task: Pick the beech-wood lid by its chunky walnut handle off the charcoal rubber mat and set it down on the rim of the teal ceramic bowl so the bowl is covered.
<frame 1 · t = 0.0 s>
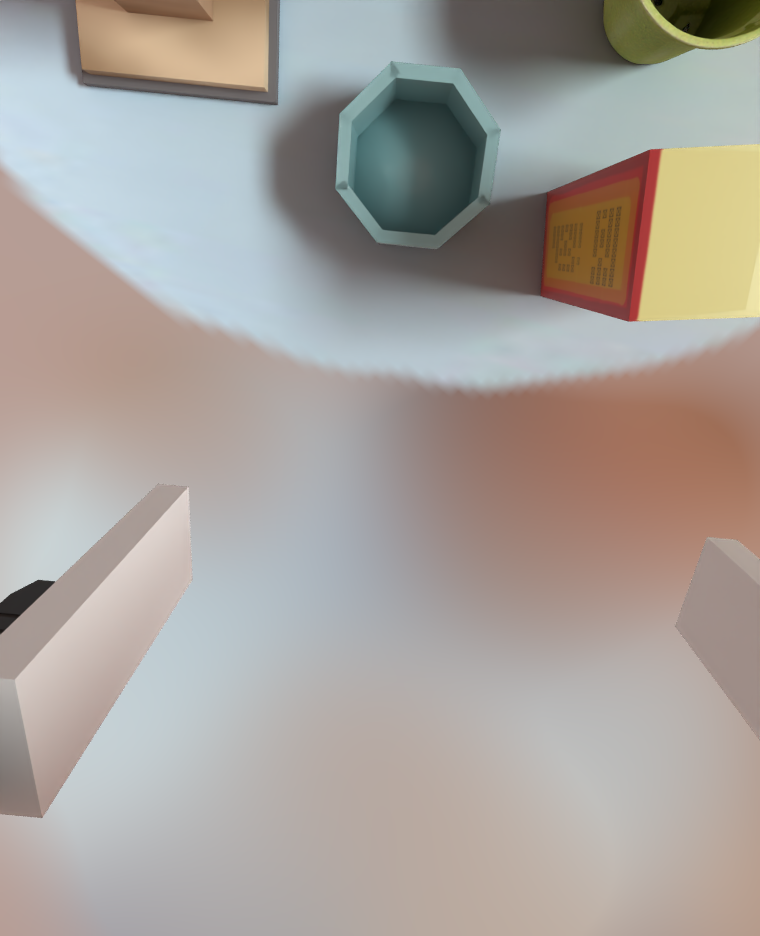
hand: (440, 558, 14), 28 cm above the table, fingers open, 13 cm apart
bowl: (413, 172, 35), on the table
plant pot: (651, 4, 32), on the table
baking soda box: (613, 242, 37), on the table
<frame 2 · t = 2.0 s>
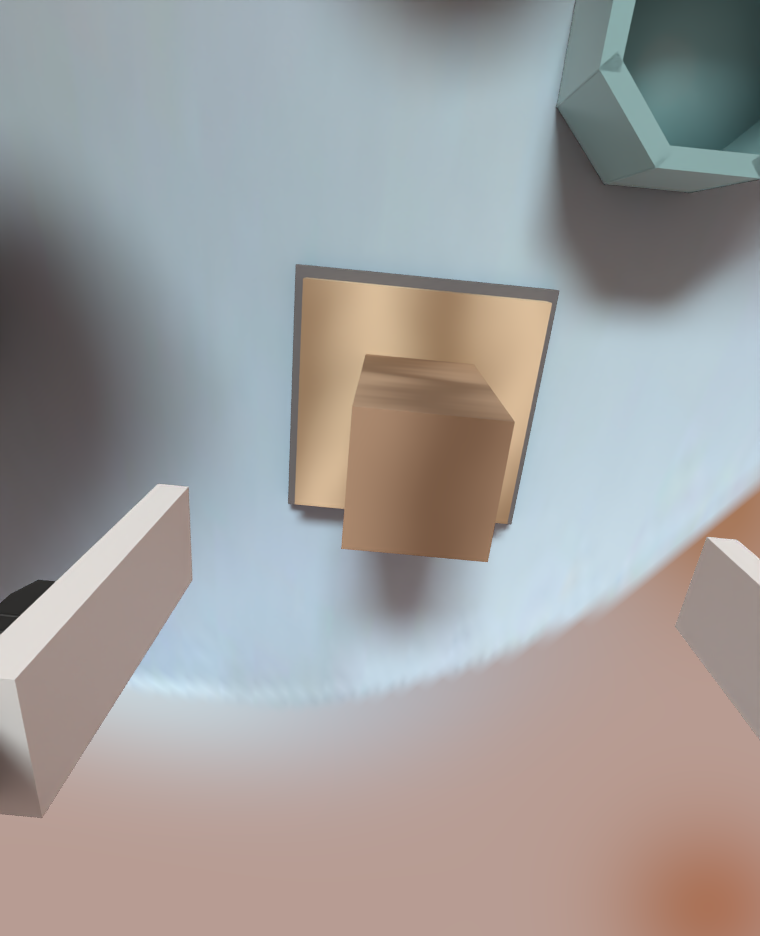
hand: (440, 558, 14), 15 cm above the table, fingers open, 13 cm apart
bowl: (677, 63, 22), on the table
mat: (412, 402, 27), on the table
lid: (412, 405, 27), point 1 cm above the table, touching mat
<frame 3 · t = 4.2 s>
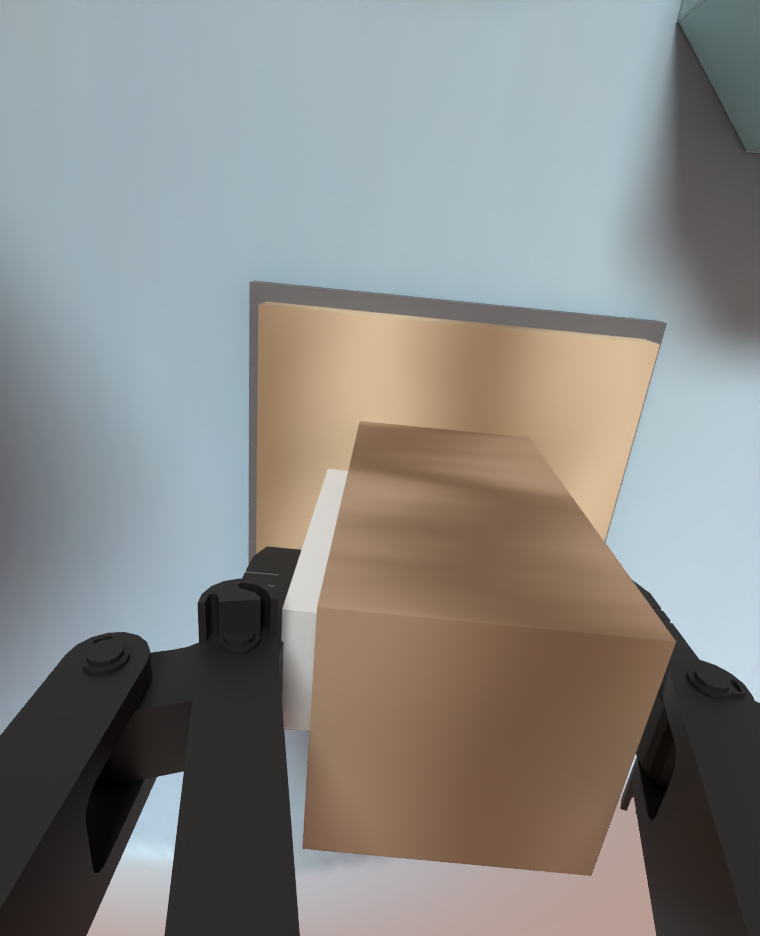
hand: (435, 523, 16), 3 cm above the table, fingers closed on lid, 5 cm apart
mat: (430, 485, 18), on the table
lid: (431, 492, 18), point 1 cm above the table, touching gripper, mat
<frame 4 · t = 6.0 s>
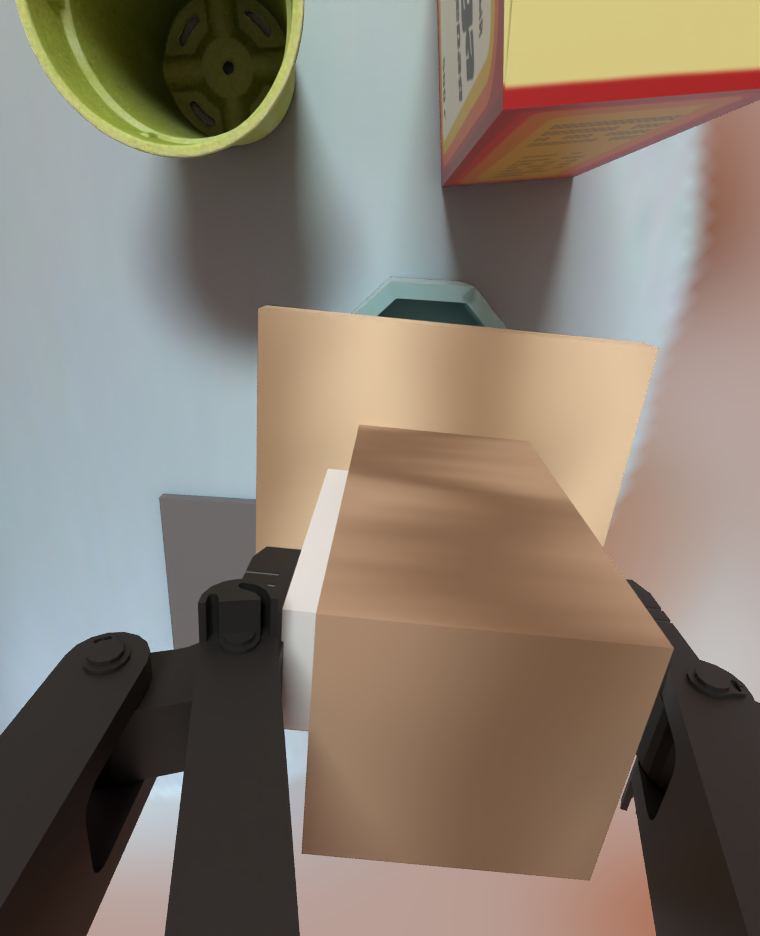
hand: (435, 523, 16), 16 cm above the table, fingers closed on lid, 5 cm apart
bowl: (418, 364, 30), on the table
plant pot: (231, 74, 26), on the table
mat: (262, 582, 36), on the table
lid: (431, 495, 18), point 14 cm above the table, touching gripper
baking soda box: (508, 68, 25), on the table
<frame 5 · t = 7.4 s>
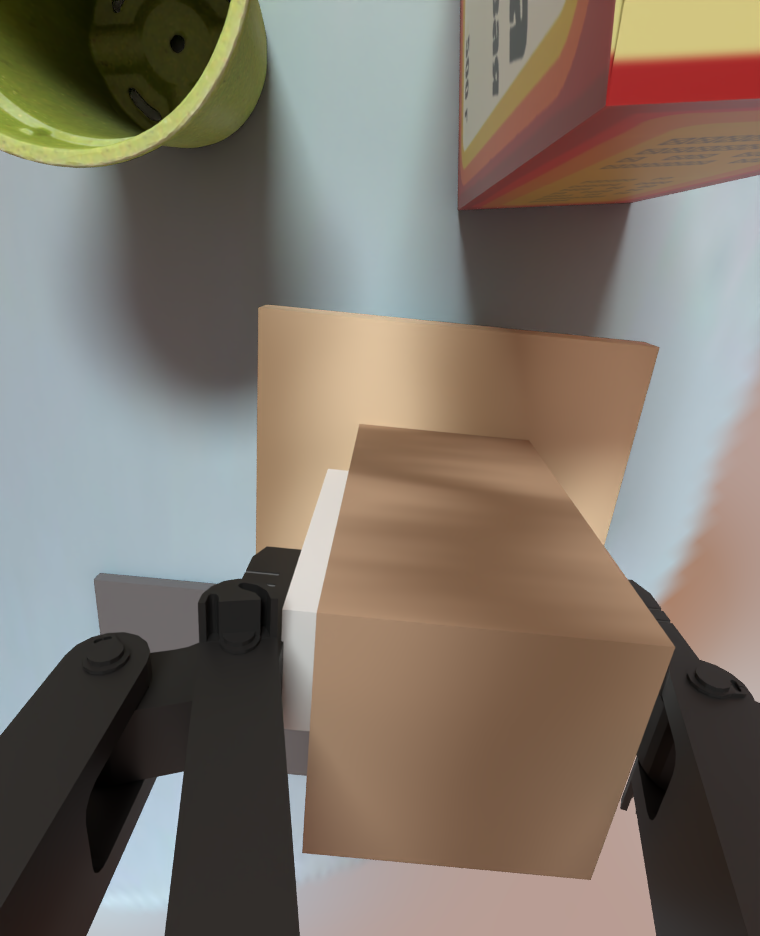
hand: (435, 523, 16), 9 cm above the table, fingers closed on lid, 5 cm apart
plant pot: (183, 53, 19), on the table
mat: (221, 678, 29), on the table
lid: (431, 495, 18), point 7 cm above the table, touching gripper
baking soda box: (552, 57, 19), on the table
when the fingers open (8 cm above the table, at t = 8.2 s): lid drops 1 cm, resting on bowl.
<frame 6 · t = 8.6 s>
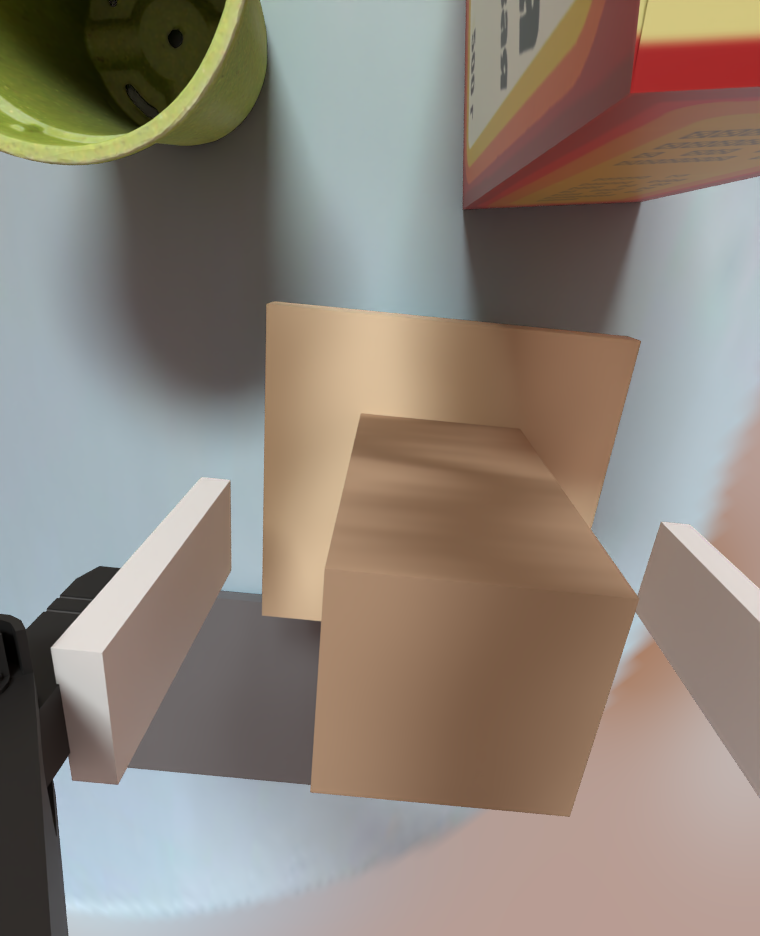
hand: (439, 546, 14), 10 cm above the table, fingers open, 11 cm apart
plant pot: (181, 49, 19), on the table
mat: (221, 685, 29), on the table
lid: (428, 481, 19), point 5 cm above the table, touching bowl
baking soda box: (560, 52, 18), on the table
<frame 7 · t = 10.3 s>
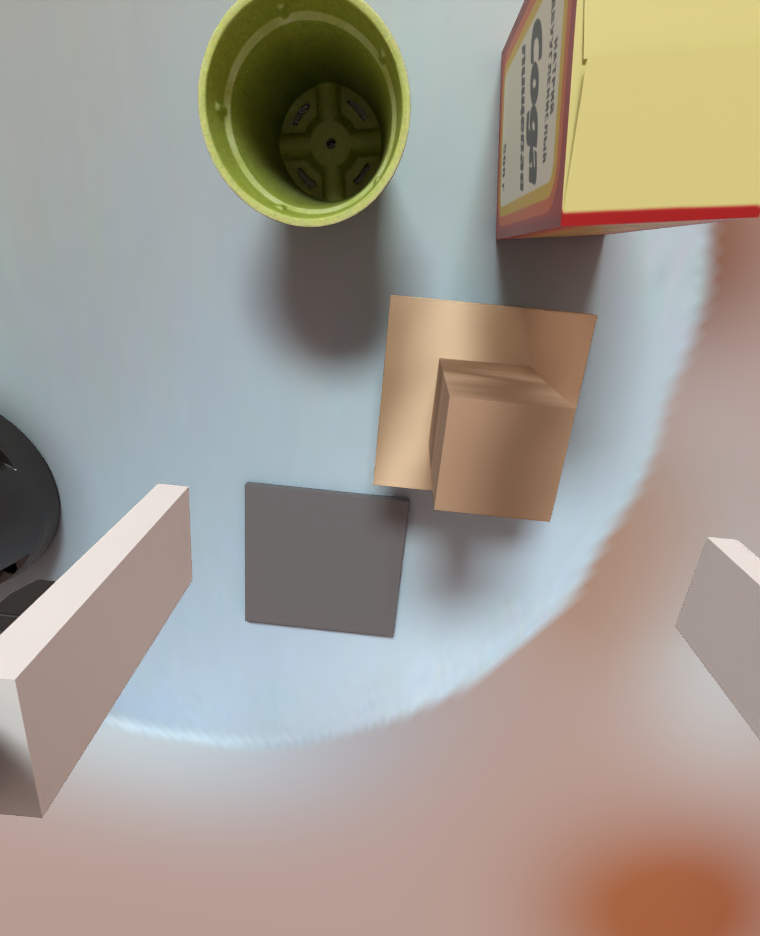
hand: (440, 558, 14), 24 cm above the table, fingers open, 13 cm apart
plant pot: (331, 147, 32), on the table
mat: (323, 560, 42), on the table
lid: (475, 401, 32), point 5 cm above the table, touching bowl
baking soda box: (555, 148, 31), on the table
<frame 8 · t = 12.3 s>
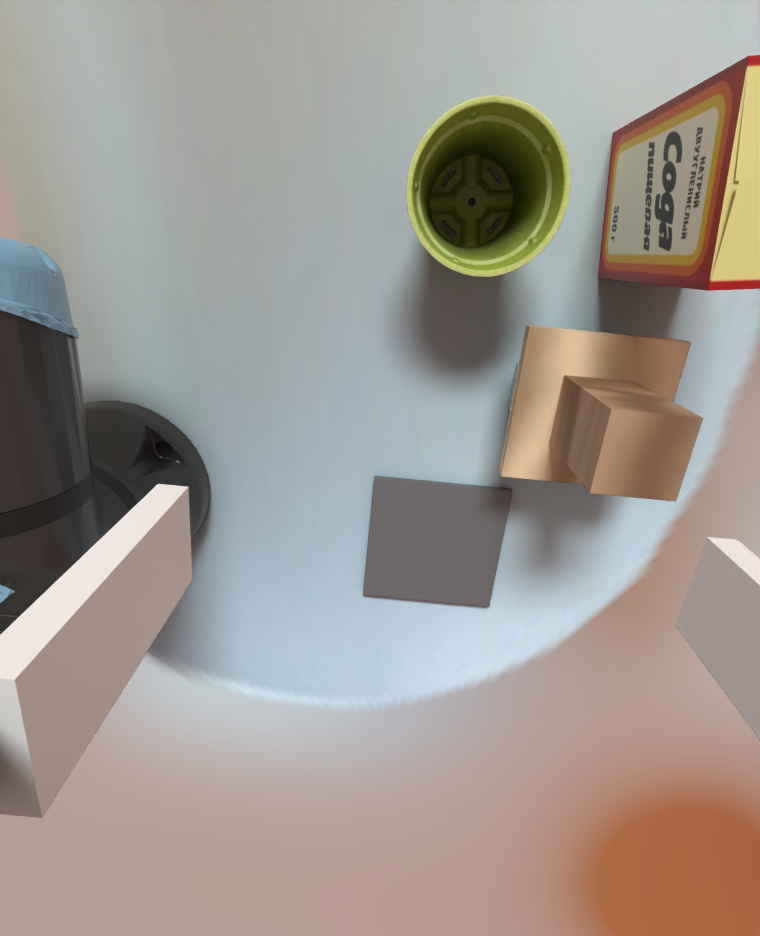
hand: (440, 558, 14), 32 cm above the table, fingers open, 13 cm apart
plant pot: (469, 204, 40), on the table
mat: (433, 542, 50), on the table
lid: (586, 409, 40), point 5 cm above the table, touching bowl
baking soda box: (649, 206, 39), on the table
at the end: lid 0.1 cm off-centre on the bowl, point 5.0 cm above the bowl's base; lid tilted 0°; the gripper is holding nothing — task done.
